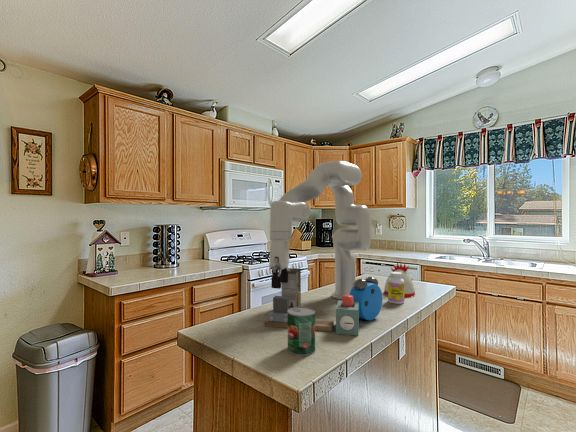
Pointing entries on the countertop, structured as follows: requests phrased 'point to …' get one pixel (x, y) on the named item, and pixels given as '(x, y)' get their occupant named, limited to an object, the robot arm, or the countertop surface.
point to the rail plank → (319, 324)
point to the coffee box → (293, 287)
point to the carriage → (279, 309)
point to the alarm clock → (367, 297)
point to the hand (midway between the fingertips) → (280, 285)
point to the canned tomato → (301, 331)
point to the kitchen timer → (408, 282)
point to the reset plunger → (347, 301)
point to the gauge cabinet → (347, 319)
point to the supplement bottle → (396, 288)
